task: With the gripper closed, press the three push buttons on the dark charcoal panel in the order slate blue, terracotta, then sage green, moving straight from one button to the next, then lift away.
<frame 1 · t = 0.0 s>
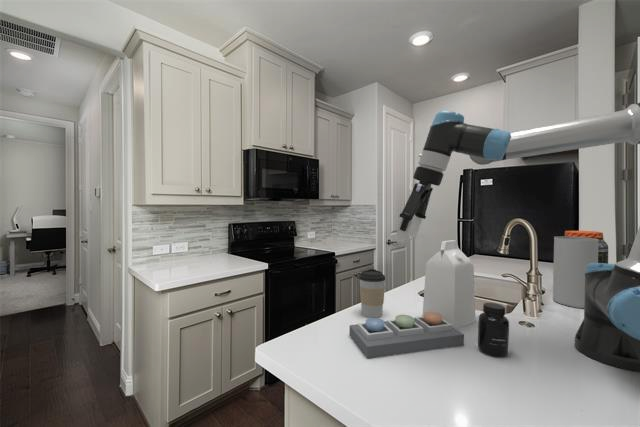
hand: (405, 239, 85), 28 cm above the countertop, tool tilted 20°, fingers open, 13 cm apart
button terracotta: (432, 317, 83), point 5 cm above the countertop, slide at 0.0 cm
button sage: (404, 321, 81), point 5 cm above the countertop, slide at 0.0 cm
panel: (404, 340, 81), on the countertop
coffee cup: (371, 314, 100), on the countertop
supplement bottle: (492, 352, 75), on the countertop
button slate: (374, 324, 78), point 5 cm above the countertop, slide at 0.0 cm
milk: (448, 319, 96), on the countertop
supplement tub: (582, 290, 127), on the countertop
cylinder vase: (573, 304, 110), on the countertop
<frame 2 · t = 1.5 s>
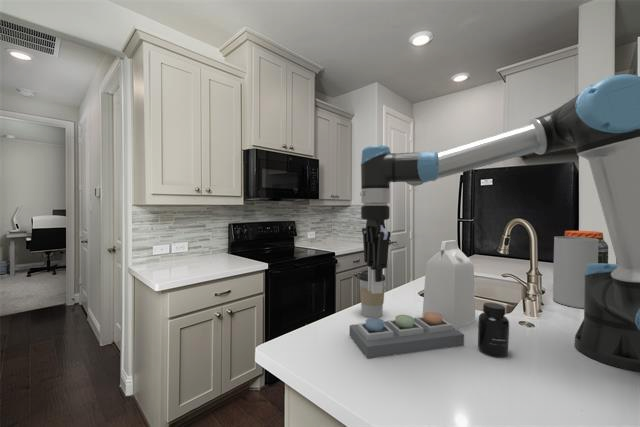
hand: (375, 291, 78), 14 cm above the countertop, tool pointing down, fingers closed
nothing on the countertop moved.
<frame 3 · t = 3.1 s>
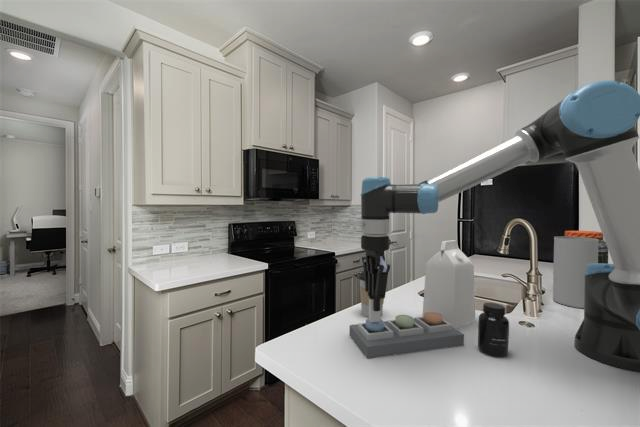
hand: (374, 321, 78), 6 cm above the countertop, tool pointing down, fingers closed
button slate: (374, 324, 78), point 5 cm above the countertop, slide at 0.2 cm, touching gripper
everything else where it was.
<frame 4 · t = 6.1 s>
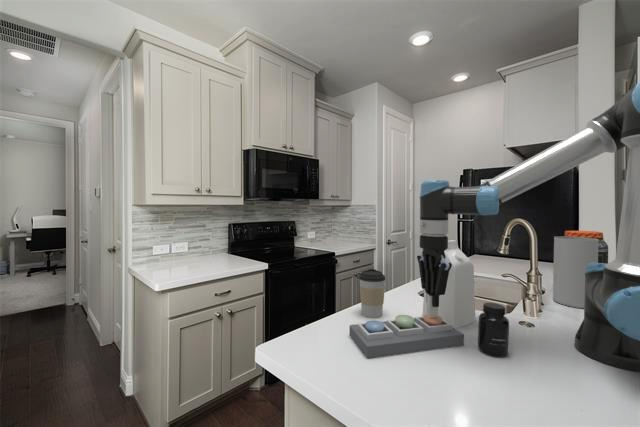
hand: (432, 316, 83), 6 cm above the countertop, tool pointing down, fingers closed
button terracotta: (432, 320, 83), point 5 cm above the countertop, slide at 0.6 cm, touching gripper
button slate: (374, 327, 78), point 5 cm above the countertop, slide at 0.7 cm
everything else where it was.
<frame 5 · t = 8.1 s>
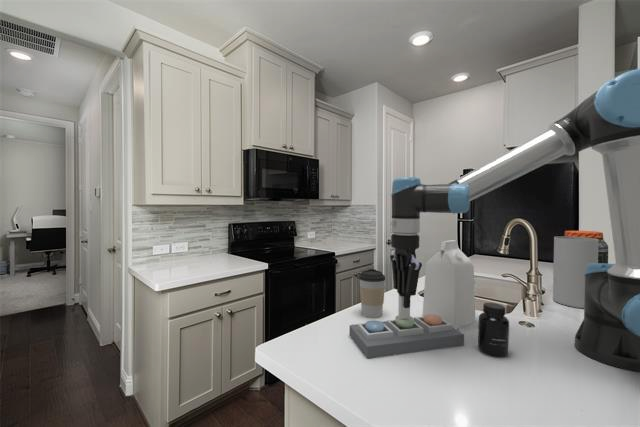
hand: (404, 317, 81), 6 cm above the countertop, tool pointing down, fingers closed
button terracotta: (432, 320, 83), point 5 cm above the countertop, slide at 0.8 cm
button sage: (404, 321, 81), point 5 cm above the countertop, slide at 0.1 cm, touching gripper
everything else where it was.
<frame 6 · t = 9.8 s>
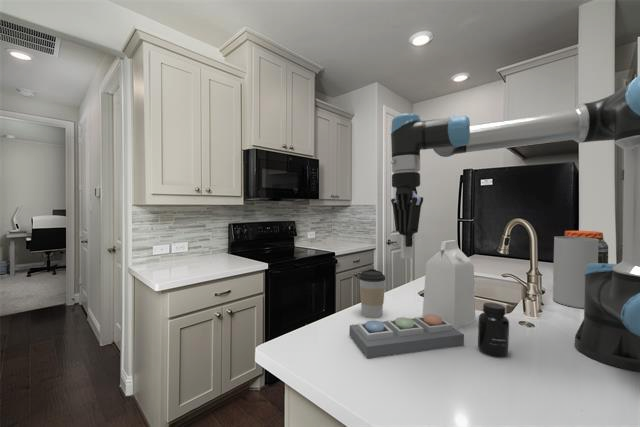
hand: (406, 258, 80), 23 cm above the countertop, tool pointing down, fingers closed
button sage: (404, 323, 81), point 5 cm above the countertop, slide at 0.7 cm
everything else where it was.
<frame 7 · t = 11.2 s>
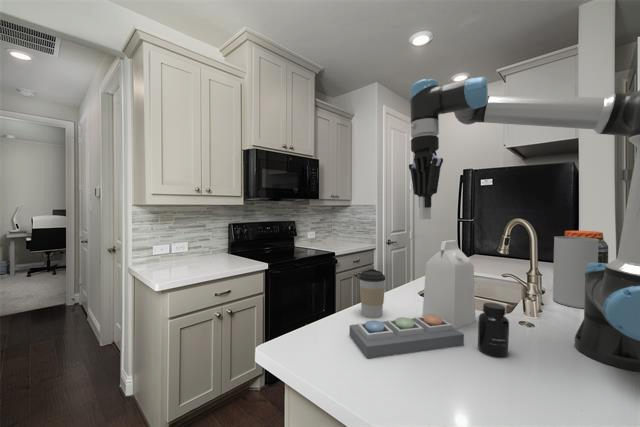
hand: (425, 219, 83), 34 cm above the countertop, tool pointing down, fingers closed
nothing on the countertop moved.
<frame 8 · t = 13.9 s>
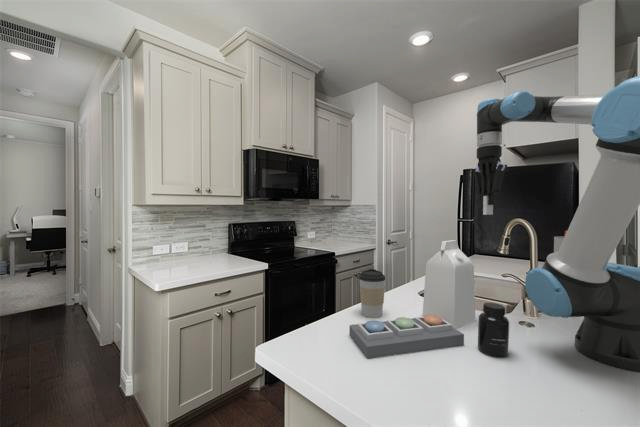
hand: (487, 214, 100), 34 cm above the countertop, tool pointing down, fingers closed
nothing on the countertop moved.
at the end: button slate slide at 0.7 cm; button terracotta slide at 0.8 cm; button sage slide at 0.7 cm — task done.
